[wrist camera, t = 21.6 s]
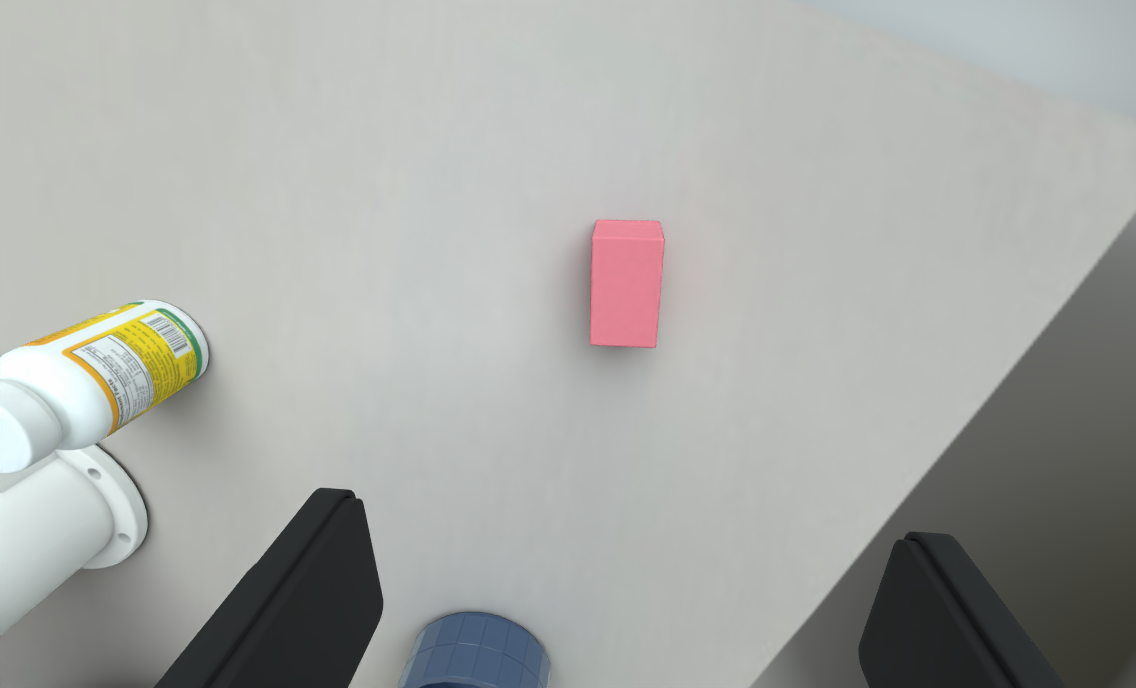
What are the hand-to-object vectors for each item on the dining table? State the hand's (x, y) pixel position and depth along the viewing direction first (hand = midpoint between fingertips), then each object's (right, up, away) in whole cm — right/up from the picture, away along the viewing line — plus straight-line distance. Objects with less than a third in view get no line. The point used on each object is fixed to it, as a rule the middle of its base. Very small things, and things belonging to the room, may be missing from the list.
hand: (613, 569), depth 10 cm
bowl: (-7, -19, +30) cm, 36 cm away
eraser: (+2, +8, +16) cm, 18 cm away
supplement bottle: (-24, +4, +21) cm, 32 cm away
